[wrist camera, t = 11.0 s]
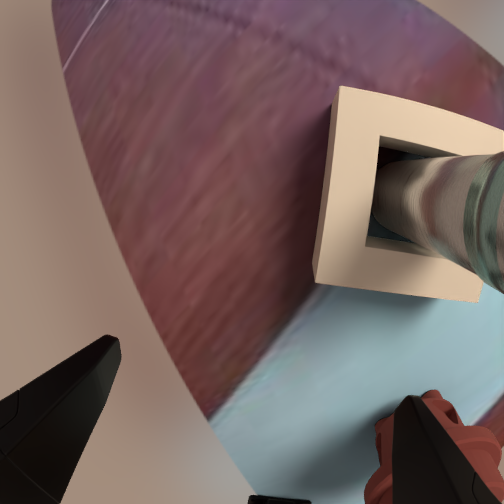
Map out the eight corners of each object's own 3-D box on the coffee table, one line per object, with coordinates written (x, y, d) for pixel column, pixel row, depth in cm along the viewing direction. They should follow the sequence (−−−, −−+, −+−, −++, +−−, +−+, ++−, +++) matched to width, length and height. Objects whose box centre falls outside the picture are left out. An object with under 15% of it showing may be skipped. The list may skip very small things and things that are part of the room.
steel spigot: (411, 246, 19) (554, 333, 6) (353, 210, 19) (481, 270, 6) (442, 184, 18) (604, 208, 5) (387, 145, 18) (541, 114, 5)
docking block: (450, 282, 19) (477, 302, 15) (312, 262, 20) (315, 282, 16) (473, 137, 17) (505, 131, 13) (331, 103, 18) (339, 85, 14)
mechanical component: (452, 443, 22) (352, 464, 24) (473, 358, 20) (356, 381, 22) (490, 540, 10) (361, 577, 12) (549, 461, 8) (383, 521, 10)
